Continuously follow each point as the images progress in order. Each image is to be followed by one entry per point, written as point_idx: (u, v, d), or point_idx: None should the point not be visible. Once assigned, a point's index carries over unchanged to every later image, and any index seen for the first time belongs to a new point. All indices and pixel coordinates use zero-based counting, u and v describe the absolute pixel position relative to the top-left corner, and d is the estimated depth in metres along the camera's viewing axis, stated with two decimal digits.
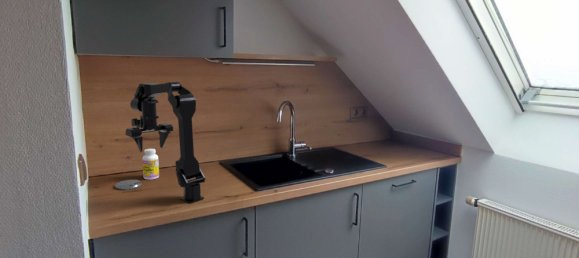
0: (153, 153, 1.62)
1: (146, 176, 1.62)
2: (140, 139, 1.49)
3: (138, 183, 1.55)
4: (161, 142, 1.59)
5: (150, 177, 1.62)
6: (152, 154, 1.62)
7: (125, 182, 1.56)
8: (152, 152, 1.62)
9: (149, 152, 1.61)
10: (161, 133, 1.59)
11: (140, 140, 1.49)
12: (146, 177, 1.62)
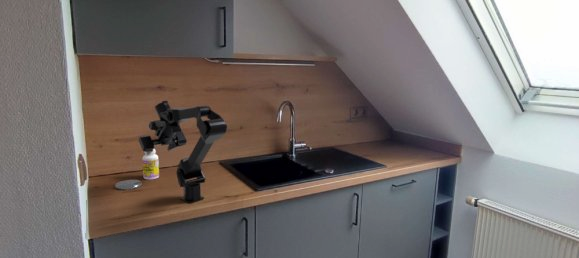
0: (153, 153, 1.62)
1: (146, 176, 1.62)
2: (150, 151, 1.49)
3: (138, 183, 1.55)
4: (170, 148, 1.59)
5: (150, 177, 1.62)
6: (152, 154, 1.62)
7: (125, 182, 1.56)
8: (152, 152, 1.62)
9: None
10: (173, 141, 1.57)
11: (150, 152, 1.49)
12: (146, 177, 1.62)
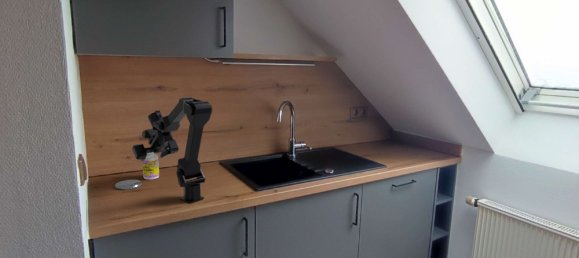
0: (153, 153, 1.62)
1: (146, 176, 1.62)
2: (143, 159, 1.55)
3: (138, 183, 1.55)
4: (162, 155, 1.65)
5: (150, 177, 1.62)
6: (152, 154, 1.62)
7: (125, 182, 1.56)
8: None
9: None
10: (165, 149, 1.63)
11: (143, 159, 1.55)
12: (146, 177, 1.62)
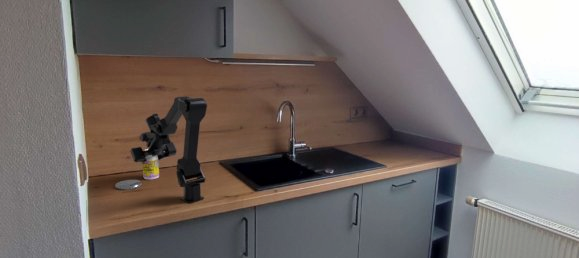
0: None
1: (146, 176, 1.62)
2: (144, 161, 1.57)
3: (138, 183, 1.55)
4: (158, 158, 1.66)
5: (150, 177, 1.62)
6: None
7: (125, 182, 1.56)
8: None
9: None
10: None
11: (143, 161, 1.58)
12: (146, 177, 1.62)
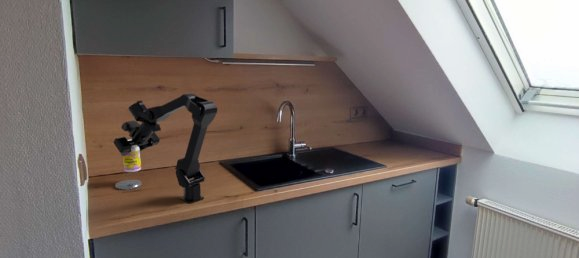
0: None
1: (129, 168, 1.53)
2: (128, 152, 1.48)
3: (138, 183, 1.55)
4: None
5: (133, 169, 1.53)
6: None
7: (125, 182, 1.56)
8: None
9: None
10: None
11: (128, 152, 1.48)
12: (129, 170, 1.53)
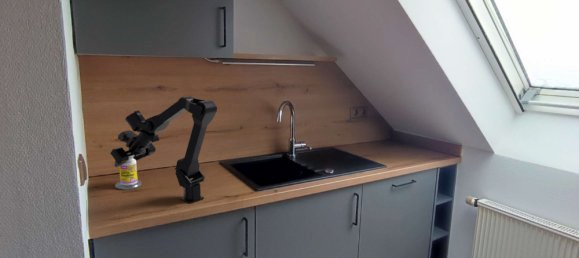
0: (132, 157, 1.52)
1: (126, 182, 1.51)
2: (123, 163, 1.45)
3: (138, 183, 1.55)
4: (136, 158, 1.56)
5: (130, 183, 1.52)
6: (131, 158, 1.52)
7: None
8: (131, 156, 1.52)
9: None
10: None
11: (122, 163, 1.46)
12: (126, 183, 1.51)
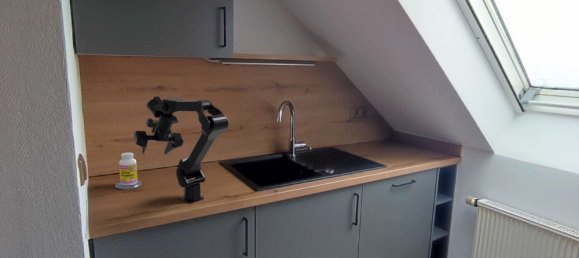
0: (132, 157, 1.52)
1: (126, 182, 1.51)
2: (144, 147, 1.45)
3: (138, 183, 1.55)
4: (166, 150, 1.54)
5: (130, 183, 1.52)
6: (131, 158, 1.52)
7: None
8: (131, 156, 1.52)
9: (128, 156, 1.50)
10: (170, 143, 1.53)
11: (143, 147, 1.45)
12: (126, 183, 1.51)
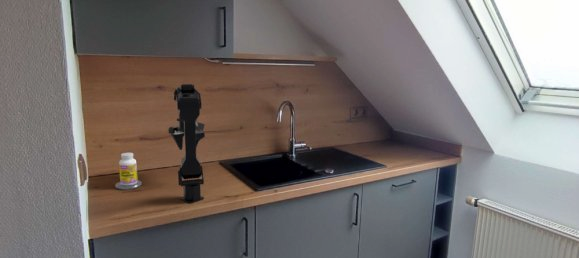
0: (132, 157, 1.52)
1: (126, 182, 1.51)
2: (173, 137, 1.61)
3: (138, 183, 1.55)
4: None
5: (130, 183, 1.52)
6: (131, 158, 1.52)
7: None
8: (131, 156, 1.52)
9: (128, 156, 1.50)
10: None
11: (173, 138, 1.61)
12: (126, 183, 1.51)
